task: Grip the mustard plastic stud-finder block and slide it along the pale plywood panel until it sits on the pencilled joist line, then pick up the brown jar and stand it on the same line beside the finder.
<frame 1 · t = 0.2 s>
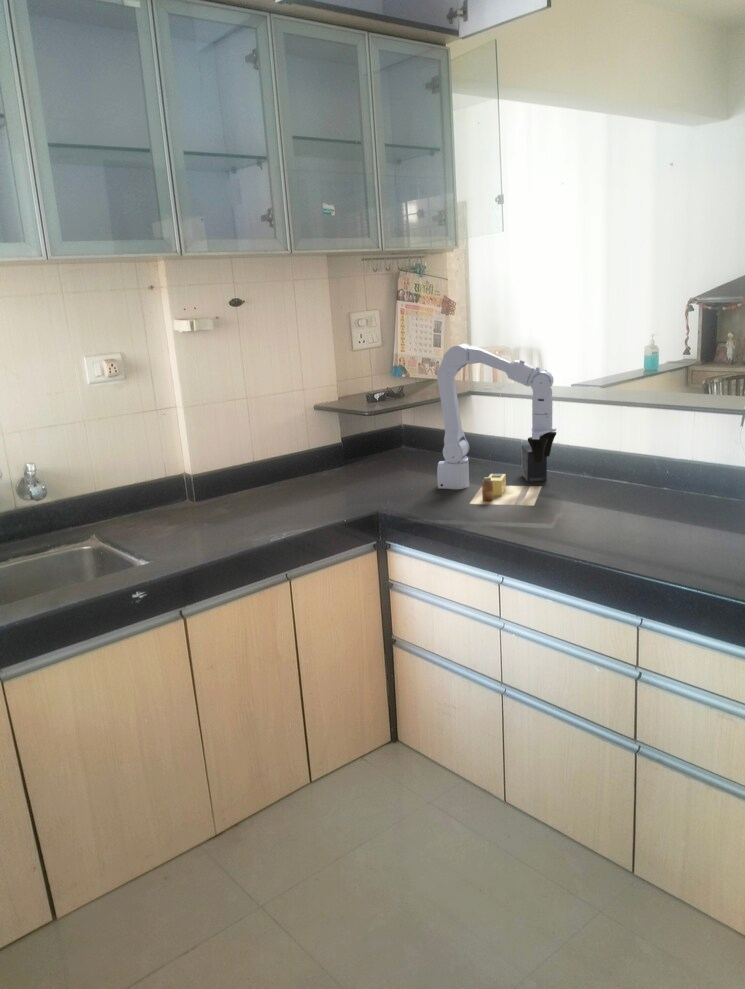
hand: (542, 459, 222), 10 cm above the table, fingers open, 7 cm apart
small box: (534, 480, 238), on the table
brown jar: (487, 499, 216), point 1 cm above the table, touching plywood panel
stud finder: (496, 491, 224), point 1 cm above the table, touching plywood panel
plywood panel: (506, 498, 220), on the table
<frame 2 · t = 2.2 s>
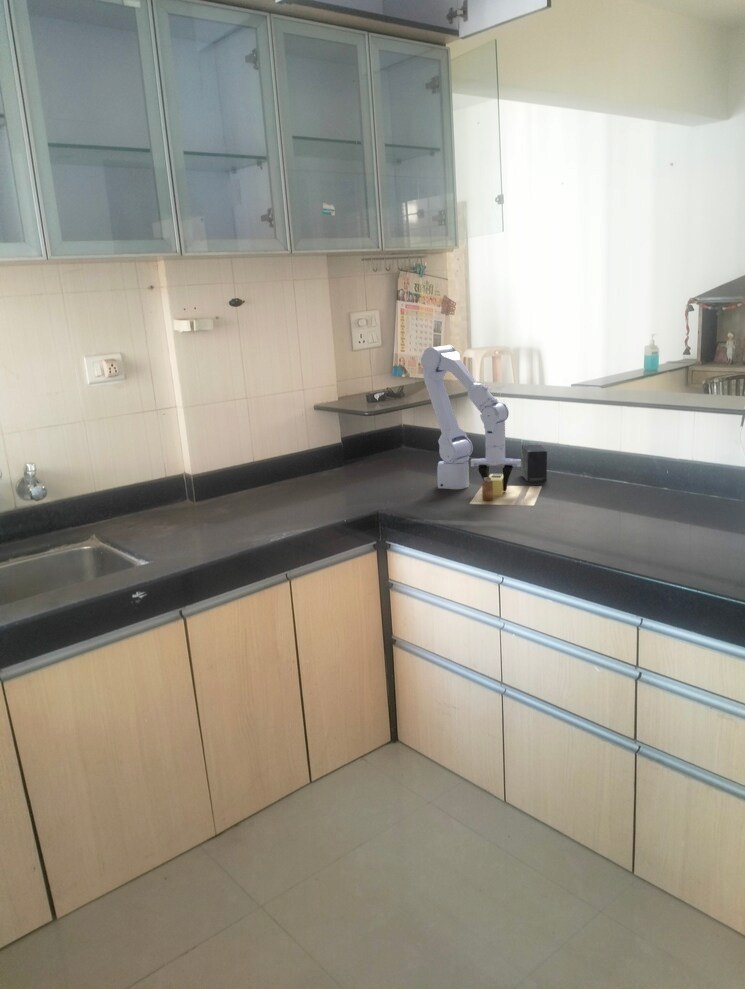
hand: (496, 489, 223), 2 cm above the table, fingers closed on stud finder, 4 cm apart
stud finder: (496, 491, 224), point 1 cm above the table, touching gripper, plywood panel
everything else where it was.
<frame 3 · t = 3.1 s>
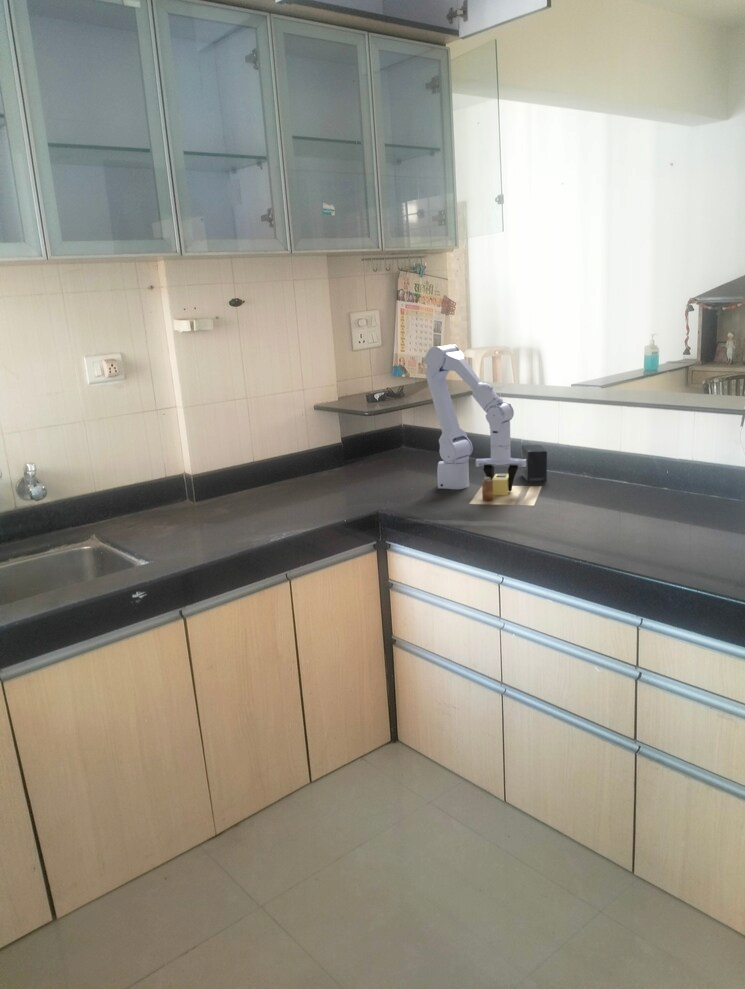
hand: (501, 490, 223), 2 cm above the table, fingers closed on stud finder, 4 cm apart
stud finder: (501, 491, 223), point 1 cm above the table, touching gripper
everything else where it was.
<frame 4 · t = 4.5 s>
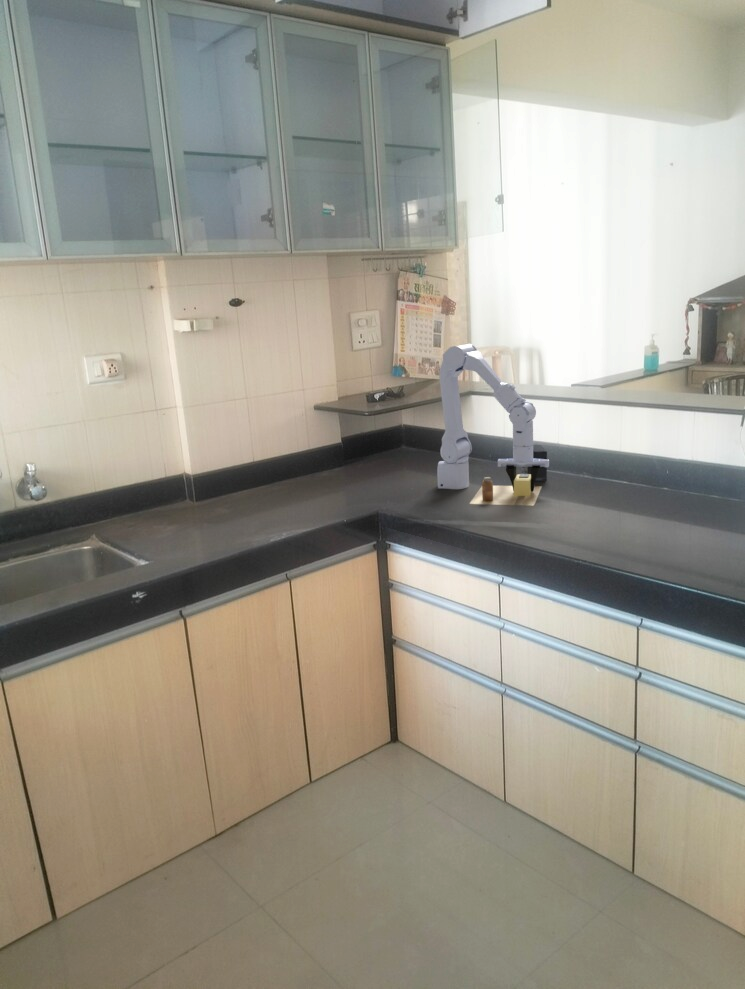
hand: (523, 490, 221), 2 cm above the table, fingers closed on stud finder, 4 cm apart
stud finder: (523, 492, 221), point 1 cm above the table, touching gripper
everything else where it was.
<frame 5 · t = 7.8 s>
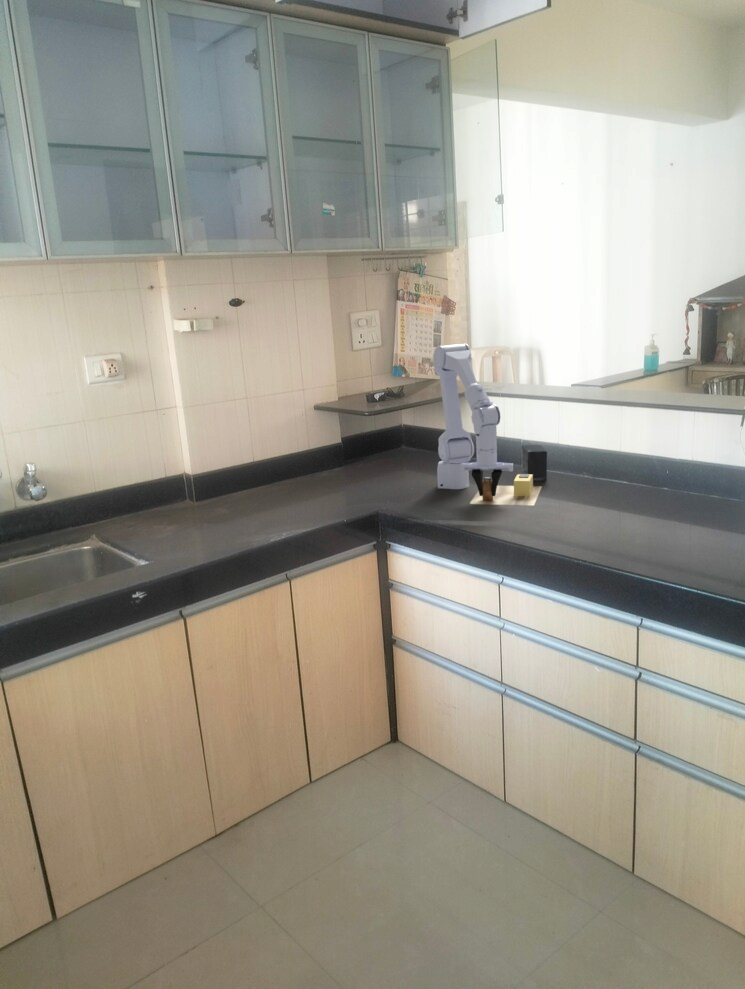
hand: (487, 495, 215), 2 cm above the table, fingers closed on brown jar, 3 cm apart
brown jar: (487, 499, 216), point 1 cm above the table, touching gripper, plywood panel
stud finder: (523, 492, 221), point 1 cm above the table, touching plywood panel
everything else where it was.
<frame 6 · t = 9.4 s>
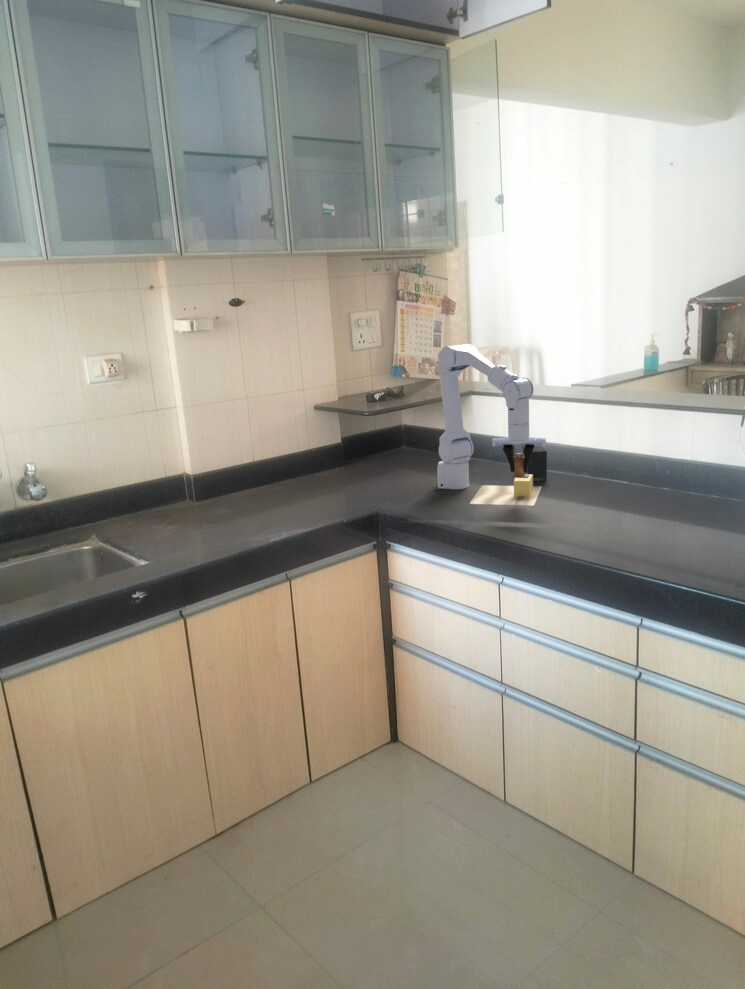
hand: (519, 471, 211), 10 cm above the table, fingers closed on brown jar, 3 cm apart
brown jar: (519, 476, 211), point 8 cm above the table, touching gripper
everything else where it was.
when the fingers open (3 cm above the table, at t = 10.8 s): brown jar stays where it is, resting on plywood panel.
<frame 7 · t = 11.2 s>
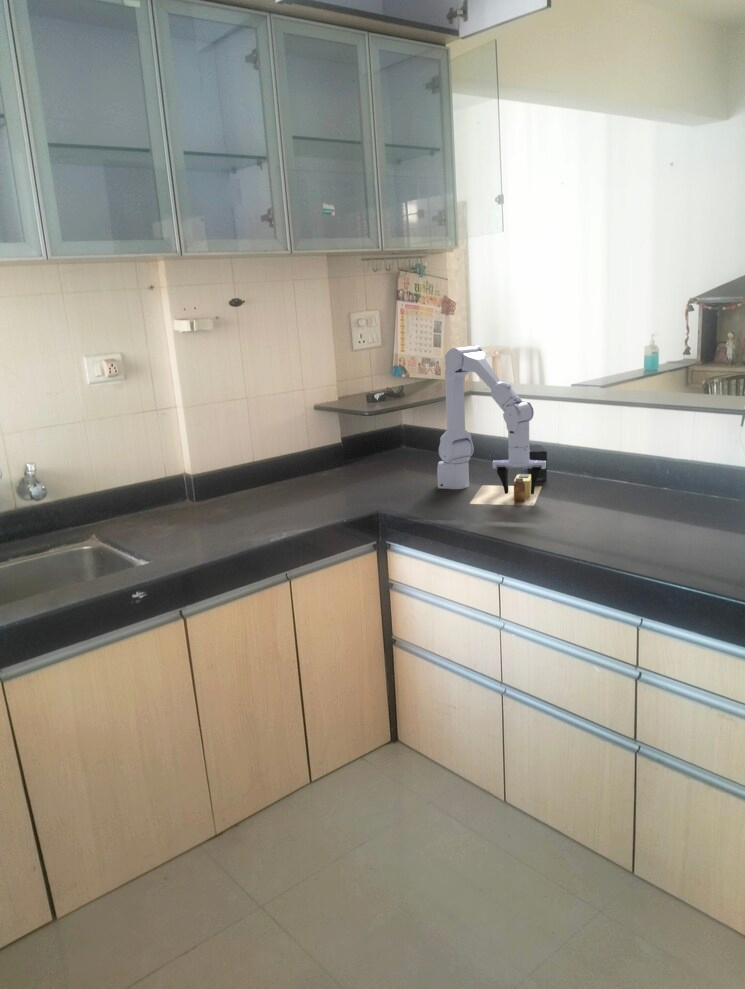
hand: (519, 493, 212), 3 cm above the table, fingers open, 7 cm apart
brown jar: (519, 500, 213), point 1 cm above the table, touching plywood panel
everything else where it was.
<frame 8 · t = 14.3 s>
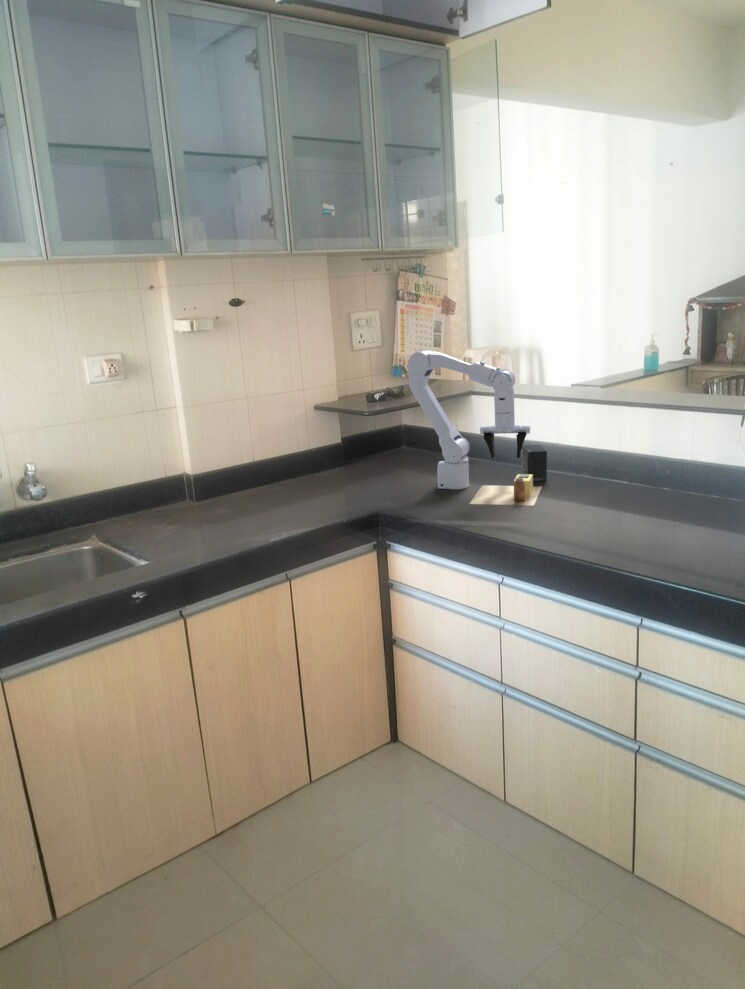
hand: (505, 457, 225), 10 cm above the table, fingers open, 7 cm apart
nothing on the table moved.
at the end: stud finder inside the target area (0.0 cm from its centre), point 1.0 cm above the table; brown jar 0.1 cm from the target spot, point 1.0 cm above the table; brown jar tilted 0° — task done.
